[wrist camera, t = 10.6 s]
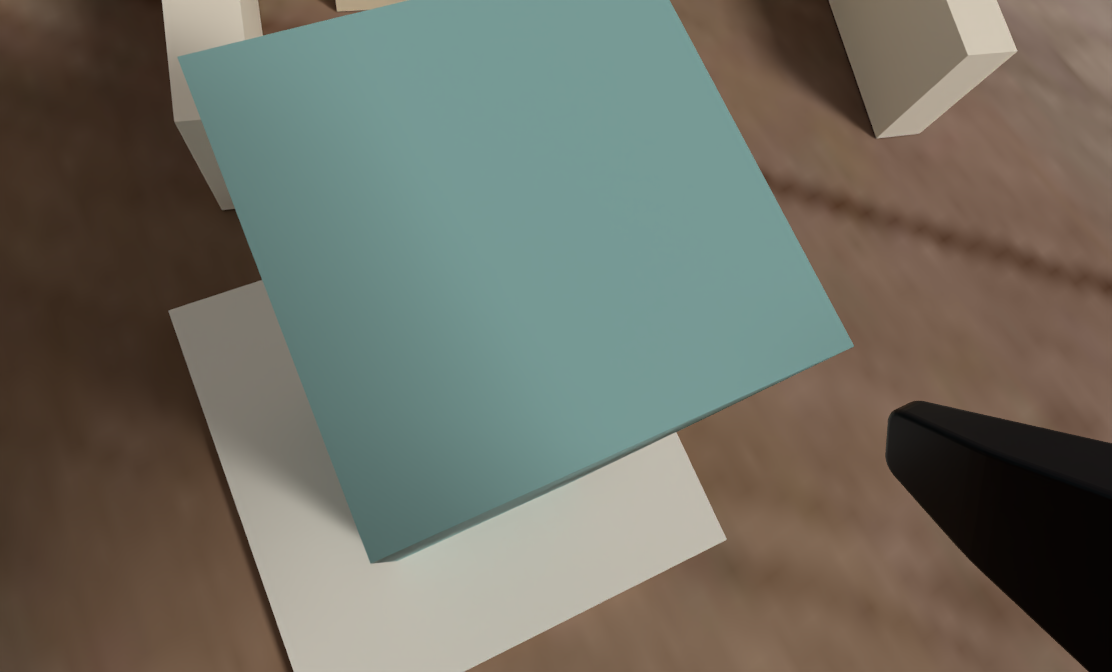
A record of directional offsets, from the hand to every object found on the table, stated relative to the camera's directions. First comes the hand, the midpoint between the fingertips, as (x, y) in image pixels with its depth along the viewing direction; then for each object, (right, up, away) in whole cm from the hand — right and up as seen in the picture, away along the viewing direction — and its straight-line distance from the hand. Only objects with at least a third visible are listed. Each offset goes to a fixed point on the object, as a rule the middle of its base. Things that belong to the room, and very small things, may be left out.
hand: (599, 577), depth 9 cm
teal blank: (-3, +1, +9) cm, 9 cm away
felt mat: (-3, +1, +9) cm, 10 cm away
